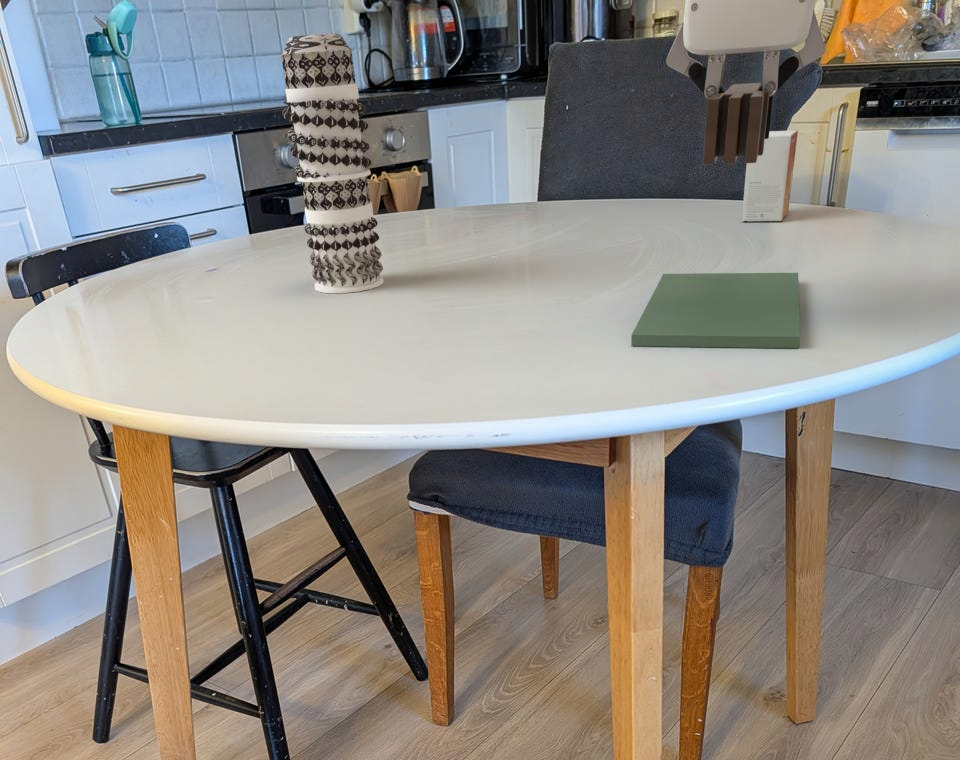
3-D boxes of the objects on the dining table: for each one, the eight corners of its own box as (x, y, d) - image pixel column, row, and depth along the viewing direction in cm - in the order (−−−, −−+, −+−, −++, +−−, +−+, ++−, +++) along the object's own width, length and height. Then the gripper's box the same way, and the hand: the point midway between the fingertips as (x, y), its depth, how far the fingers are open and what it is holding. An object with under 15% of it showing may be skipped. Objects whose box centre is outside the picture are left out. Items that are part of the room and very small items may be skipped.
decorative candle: (304, 296, 102) (260, 38, 88) (318, 279, 110) (280, 39, 96) (381, 291, 101) (349, 31, 88) (390, 274, 109) (362, 32, 95)
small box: (781, 222, 121) (791, 135, 115) (740, 222, 123) (748, 136, 117) (789, 212, 127) (799, 129, 121) (749, 212, 129) (757, 131, 123)
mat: (798, 348, 73) (800, 336, 72) (631, 346, 77) (631, 334, 76) (797, 282, 92) (798, 272, 91) (662, 283, 96) (663, 273, 95)
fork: (716, 138, 86) (720, 85, 84) (767, 136, 85) (773, 81, 82) (698, 165, 70) (702, 99, 67) (760, 162, 68) (767, 95, 66)
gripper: (871, -131, 67) (832, 141, 78) (659, -106, 72) (648, 149, 82) (878, -146, 61) (835, 151, 72) (646, -118, 66) (637, 158, 76)
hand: (735, 147), depth 77 cm, fingers closed on fork, 2 cm apart
